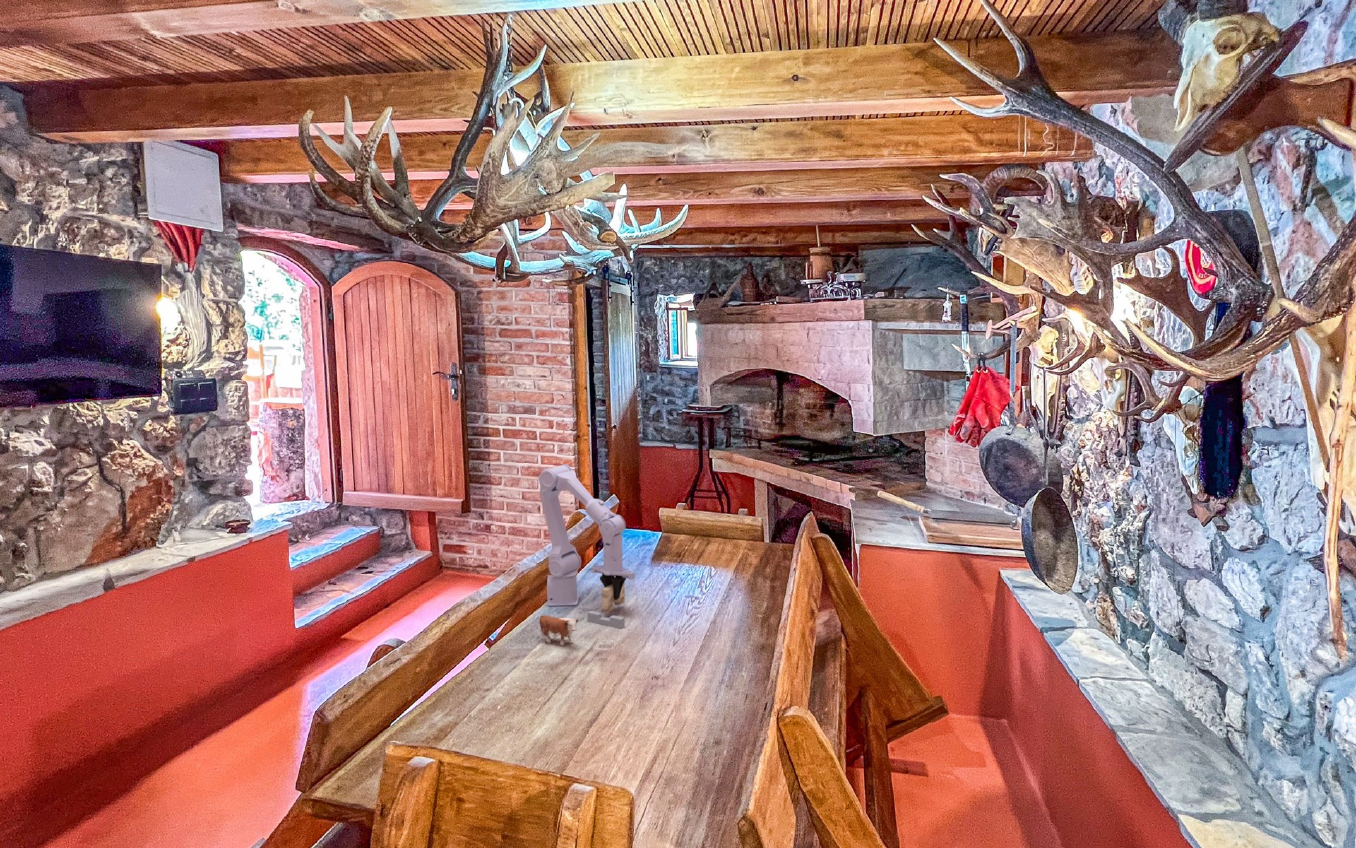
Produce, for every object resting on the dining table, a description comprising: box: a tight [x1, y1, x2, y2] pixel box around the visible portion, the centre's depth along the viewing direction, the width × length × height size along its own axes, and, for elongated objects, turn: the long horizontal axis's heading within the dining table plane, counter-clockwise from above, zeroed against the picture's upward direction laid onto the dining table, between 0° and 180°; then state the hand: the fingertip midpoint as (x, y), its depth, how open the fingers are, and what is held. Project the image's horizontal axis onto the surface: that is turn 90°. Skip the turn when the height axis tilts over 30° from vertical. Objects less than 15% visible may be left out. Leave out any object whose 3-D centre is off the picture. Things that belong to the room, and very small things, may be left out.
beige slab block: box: [601, 581, 626, 613], centre depth 233 cm, size 10×2×7 cm, turn 152°
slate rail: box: [586, 610, 626, 629], centre depth 224 cm, size 12×2×3 cm, turn 62°
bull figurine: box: [539, 614, 579, 647], centre depth 211 cm, size 4×13×8 cm, turn 58°
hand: (613, 598), depth 233 cm, fingers closed on beige slab block, 2 cm apart
